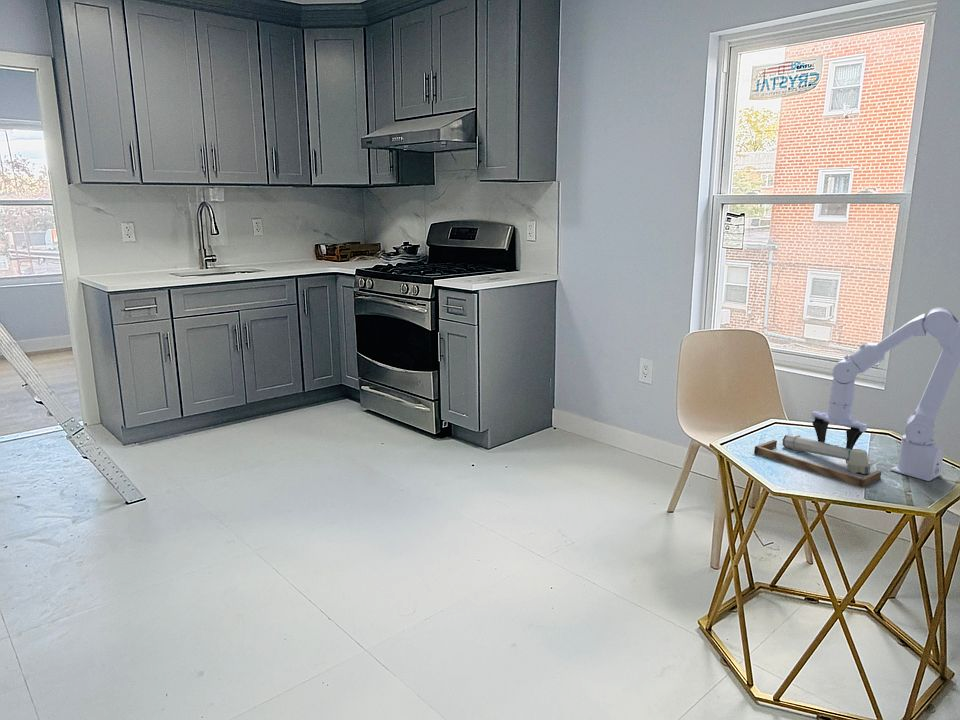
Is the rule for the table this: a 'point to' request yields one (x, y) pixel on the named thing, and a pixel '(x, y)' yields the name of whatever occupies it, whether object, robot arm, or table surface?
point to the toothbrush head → (831, 452)
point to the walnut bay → (815, 466)
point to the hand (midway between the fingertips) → (834, 449)
